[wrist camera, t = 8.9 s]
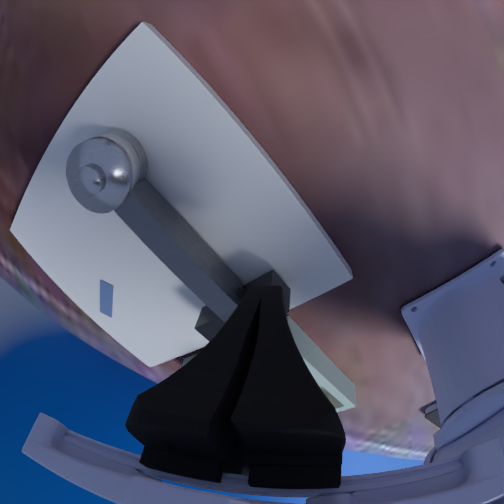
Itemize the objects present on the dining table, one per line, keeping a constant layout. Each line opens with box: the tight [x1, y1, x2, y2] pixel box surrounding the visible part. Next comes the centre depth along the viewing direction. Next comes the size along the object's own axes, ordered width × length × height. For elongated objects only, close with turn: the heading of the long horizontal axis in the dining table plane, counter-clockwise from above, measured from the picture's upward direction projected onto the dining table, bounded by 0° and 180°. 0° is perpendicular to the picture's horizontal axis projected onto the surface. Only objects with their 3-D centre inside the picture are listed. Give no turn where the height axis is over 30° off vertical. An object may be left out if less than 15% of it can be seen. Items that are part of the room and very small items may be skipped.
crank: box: [66, 130, 291, 342], centre depth 16 cm, size 14×6×3 cm, turn 38°
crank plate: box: [10, 22, 353, 367], centre depth 19 cm, size 21×19×1 cm
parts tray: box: [182, 315, 356, 412], centre depth 25 cm, size 12×12×2 cm
